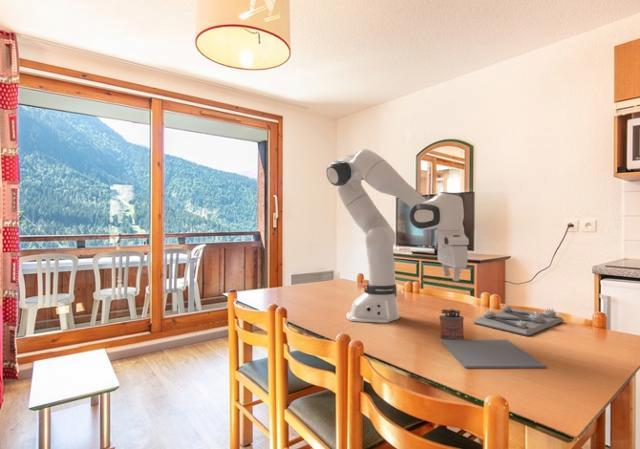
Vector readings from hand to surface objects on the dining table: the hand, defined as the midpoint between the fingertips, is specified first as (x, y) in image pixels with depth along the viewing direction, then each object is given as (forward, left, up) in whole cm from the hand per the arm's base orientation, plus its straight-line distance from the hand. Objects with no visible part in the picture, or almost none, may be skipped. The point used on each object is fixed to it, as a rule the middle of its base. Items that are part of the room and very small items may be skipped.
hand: (451, 278), depth 125 cm
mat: (+6, -15, -21) cm, 26 cm away
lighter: (0, 0, -21) cm, 21 cm away
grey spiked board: (+32, +18, -22) cm, 42 cm away
